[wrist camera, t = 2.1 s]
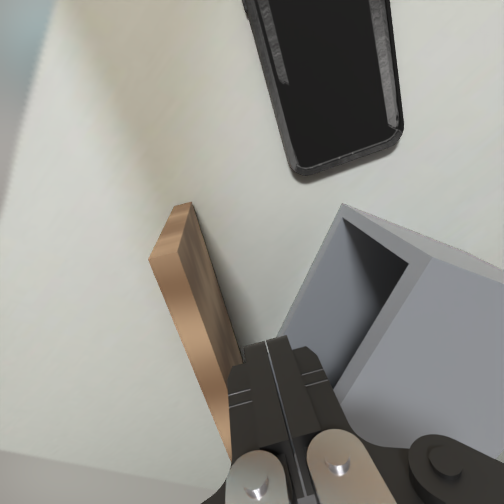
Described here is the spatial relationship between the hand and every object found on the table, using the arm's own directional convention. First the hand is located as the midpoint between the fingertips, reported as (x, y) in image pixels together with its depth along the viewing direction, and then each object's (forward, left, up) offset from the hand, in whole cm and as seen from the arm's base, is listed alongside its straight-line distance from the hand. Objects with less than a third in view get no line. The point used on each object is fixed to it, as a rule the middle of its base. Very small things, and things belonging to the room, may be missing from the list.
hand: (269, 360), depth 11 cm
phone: (0, -13, -13) cm, 19 cm away
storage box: (-12, +4, -13) cm, 18 cm away
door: (0, +6, -13) cm, 14 cm away
